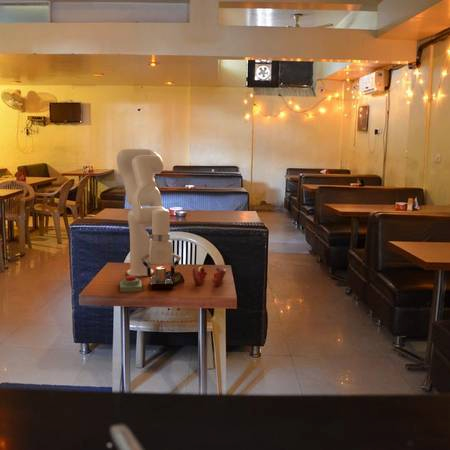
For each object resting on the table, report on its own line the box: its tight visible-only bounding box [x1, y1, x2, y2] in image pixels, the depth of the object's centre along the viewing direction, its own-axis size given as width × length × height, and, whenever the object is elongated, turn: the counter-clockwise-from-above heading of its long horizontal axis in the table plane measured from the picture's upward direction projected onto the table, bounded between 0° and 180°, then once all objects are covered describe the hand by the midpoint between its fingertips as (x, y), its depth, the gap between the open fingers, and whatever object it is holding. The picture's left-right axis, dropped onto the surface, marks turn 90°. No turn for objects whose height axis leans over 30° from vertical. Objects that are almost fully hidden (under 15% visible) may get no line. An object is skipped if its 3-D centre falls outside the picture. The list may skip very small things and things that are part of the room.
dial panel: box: [149, 276, 173, 292], centre depth 225 cm, size 11×9×3 cm
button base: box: [119, 277, 143, 293], centre depth 221 cm, size 10×9×4 cm
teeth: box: [192, 266, 227, 287], centre depth 232 cm, size 10×8×15 cm
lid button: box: [125, 275, 136, 281], centre depth 221 cm, size 4×4×2 cm
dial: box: [155, 266, 167, 281], centre depth 224 cm, size 4×4×6 cm
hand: (160, 276), depth 224 cm, fingers open, 9 cm apart
